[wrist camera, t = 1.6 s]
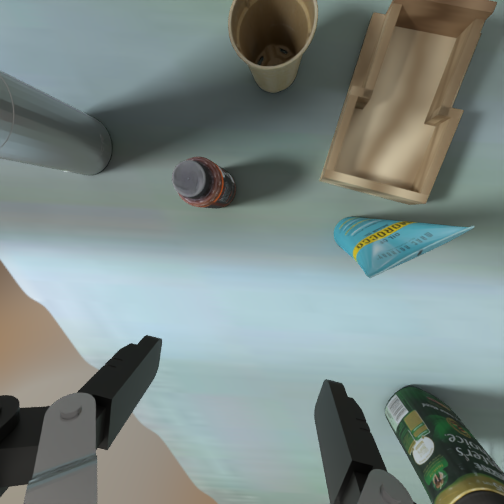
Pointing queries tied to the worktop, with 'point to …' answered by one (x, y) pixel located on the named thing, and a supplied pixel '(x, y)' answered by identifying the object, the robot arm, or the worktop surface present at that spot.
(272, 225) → the worktop surface
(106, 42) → the worktop surface
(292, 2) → the flower pot
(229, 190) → the supplement bottle
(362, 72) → the keyhole tray
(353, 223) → the tube
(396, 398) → the coffee jar
